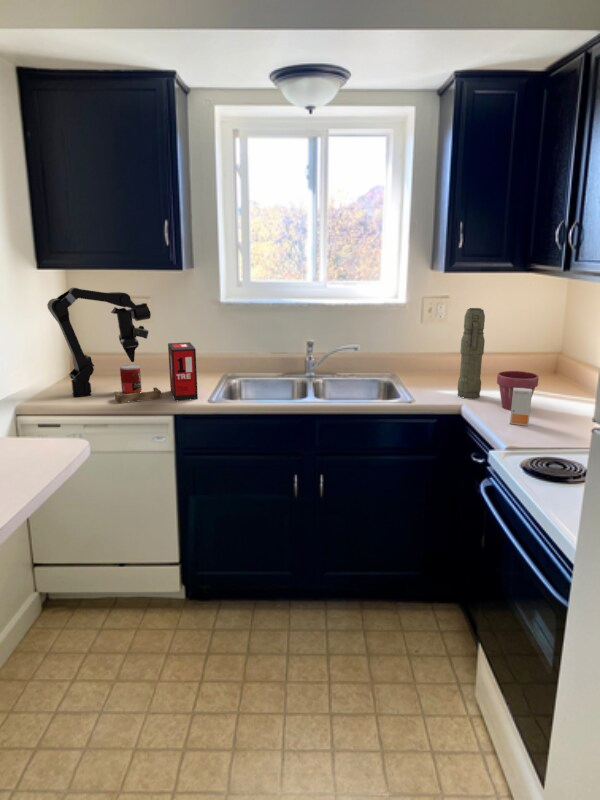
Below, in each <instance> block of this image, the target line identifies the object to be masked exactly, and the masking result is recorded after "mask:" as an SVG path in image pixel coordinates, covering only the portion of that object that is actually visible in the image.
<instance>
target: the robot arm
mask: <svg viewBox="0 0 600 800" xmlns="http://www.w3.org/2000/svg"><path fill="white" fill-rule="evenodd" d="M78 299H81V300H90V301H96V302H105V303H108V304H111V305H114V306H117V307H113V309H112V310H111V311H110V313H111V314H114V315H116V316H117V317H116V318H117V324H118V330H119V334H118V340H119V343H120V344H121V346H122V348H123V350H124V352H125V354H126V355H127V357H128V358H129V360H130V362H131V363H134V362H135V357H136V356H135V352H136V350H137V348H138V347H139V346H140V344H139V340H138V339H137V337H138V338H143V339H145V340H146V339H148V336H149V330H147V329H145V327H144V325H139V326H138V327H135V325H134V322H133V320H134V321H135V322H139V321H144V320H145V321H146V320H150V319H151V315H152V314H151V311H150V308H149V307H148V304H147V302H146V303H145V302H142V303H139V304H138V303H137V304H136V303H134V301H133V300H132V299H131V296H130V295H129V293H127V292H124V291H123V292H121V291H111V292H102V291H96V290H88V289H83V288H78V287H71V288H69V289H68V290H66V291H65V292H64V293H62V294H60V295H58V297H56V298H51V299H50V300H49V301H48V302H47V304H46V306H47V309H48V312H50V314H51V316H52V317H53V319H55V321H56V322H57V323H58V325H59V328H60V330H61V333H62V335H63V337H64V340H65V341H66V343H67V346H68V348H69V350H70V353H71V355H72V364H73V369H72V370H71V371H70V372H69V373H68V374H69V378H70V379H71V381H70V382H71V390H72V392H71V395H72V396H73V398H78V397H88V396H91V395H92V394H91V393H92V385H91V382H90V379H91V376H92V375H93V373H94V371H95V368H94V367H95V365H94V364H93V360H92V357H91V356H89V355H87V354H84V351H83V349H82V347H81V344H80V342H79V339H78V338H77V335H76V333H75V331H74V330H75V329H74V328H73V326H72V324H71V319H70V312H69V307H71V306H72V305H73V304H74V303H75V302H76V301H77V300H78ZM118 307H119V308H118ZM120 307H121V308H120ZM126 308H128V309H126Z"/></svg>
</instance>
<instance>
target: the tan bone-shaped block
mask: <svg viewBox="0 0 600 800" xmlns="http://www.w3.org/2000/svg"><path fill="white" fill-rule="evenodd" d="M160 398H161V399H162V393H161V390H160V389H159V388H157V387H153V388H152V391H151V390H150V391H141V393H132V394H123V393H122V394H121V393H120V392H119V391H114V400H115V401H116V402H117V403H118V404H123V403H122V402H126V403H129V402H128V401H135V402H138V401H137V400H143V401H149V399H152V400H159V399H160ZM161 399H160V400H161Z"/></svg>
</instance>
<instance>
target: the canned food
mask: <svg viewBox="0 0 600 800" xmlns="http://www.w3.org/2000/svg"><path fill="white" fill-rule="evenodd" d="M119 371H120V375H119V376H120V384H121V392H122V395H123V394H132V393H140V392H142V389H143V388H142V377H141V366H140V365H139V364H123V365H120V367H119Z"/></svg>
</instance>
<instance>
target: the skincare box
mask: <svg viewBox="0 0 600 800" xmlns="http://www.w3.org/2000/svg"><path fill="white" fill-rule="evenodd" d="M532 398H533V395H532V389H526V388H513V398H512V406H511V410H510V415H509V416H510V417H509V424H510V425H519V426H525V427H528V426H529V421H530V413H531V404H532Z"/></svg>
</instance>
